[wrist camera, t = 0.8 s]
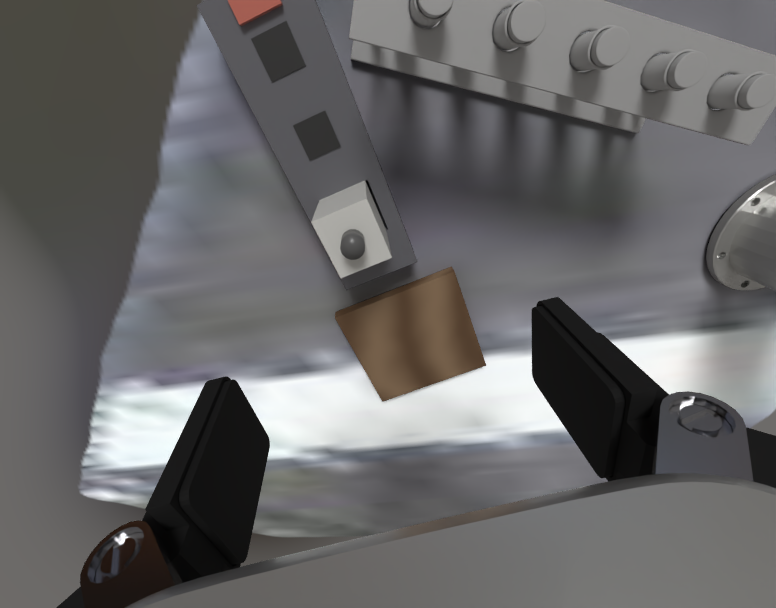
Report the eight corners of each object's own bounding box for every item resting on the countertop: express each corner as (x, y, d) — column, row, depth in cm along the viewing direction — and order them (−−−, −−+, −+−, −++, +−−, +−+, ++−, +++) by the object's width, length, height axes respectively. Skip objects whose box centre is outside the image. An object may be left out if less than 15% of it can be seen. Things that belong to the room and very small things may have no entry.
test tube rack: (661, 74, 30) (851, 59, 18) (632, 132, 32) (788, 151, 20) (360, -14, 26) (362, -105, 14) (350, 59, 28) (345, 32, 16)
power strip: (303, -30, 25) (295, -52, 21) (412, 247, 35) (418, 263, 32) (215, 16, 26) (193, 3, 22) (347, 274, 36) (346, 292, 33)
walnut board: (451, 266, 37) (454, 271, 36) (483, 358, 43) (486, 365, 42) (335, 312, 38) (335, 317, 37) (382, 394, 45) (382, 401, 44)
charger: (364, 174, 31) (367, 204, 22) (384, 222, 33) (393, 266, 24) (322, 193, 31) (308, 229, 23) (344, 238, 33) (339, 287, 25)
